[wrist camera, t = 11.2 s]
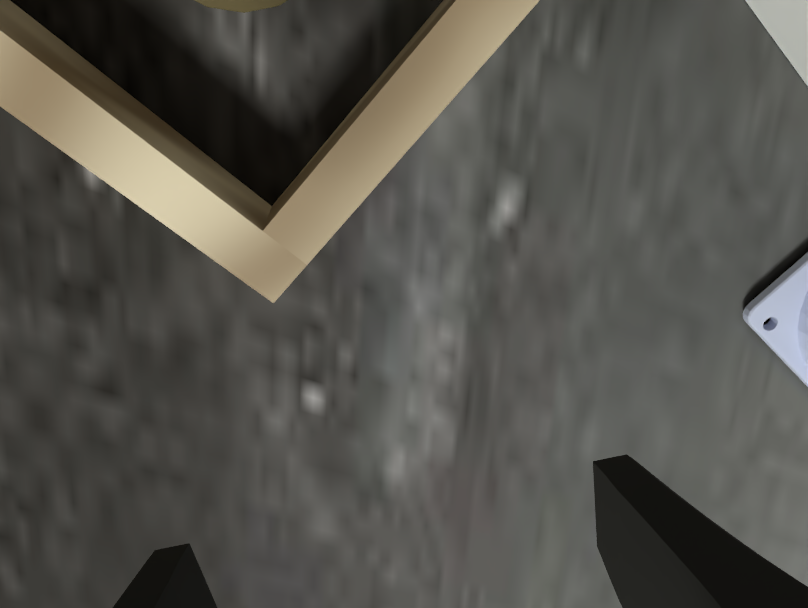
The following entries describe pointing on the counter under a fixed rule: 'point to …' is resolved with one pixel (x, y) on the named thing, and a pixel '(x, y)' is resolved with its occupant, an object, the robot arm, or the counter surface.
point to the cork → (241, 4)
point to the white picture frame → (787, 28)
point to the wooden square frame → (209, 182)
